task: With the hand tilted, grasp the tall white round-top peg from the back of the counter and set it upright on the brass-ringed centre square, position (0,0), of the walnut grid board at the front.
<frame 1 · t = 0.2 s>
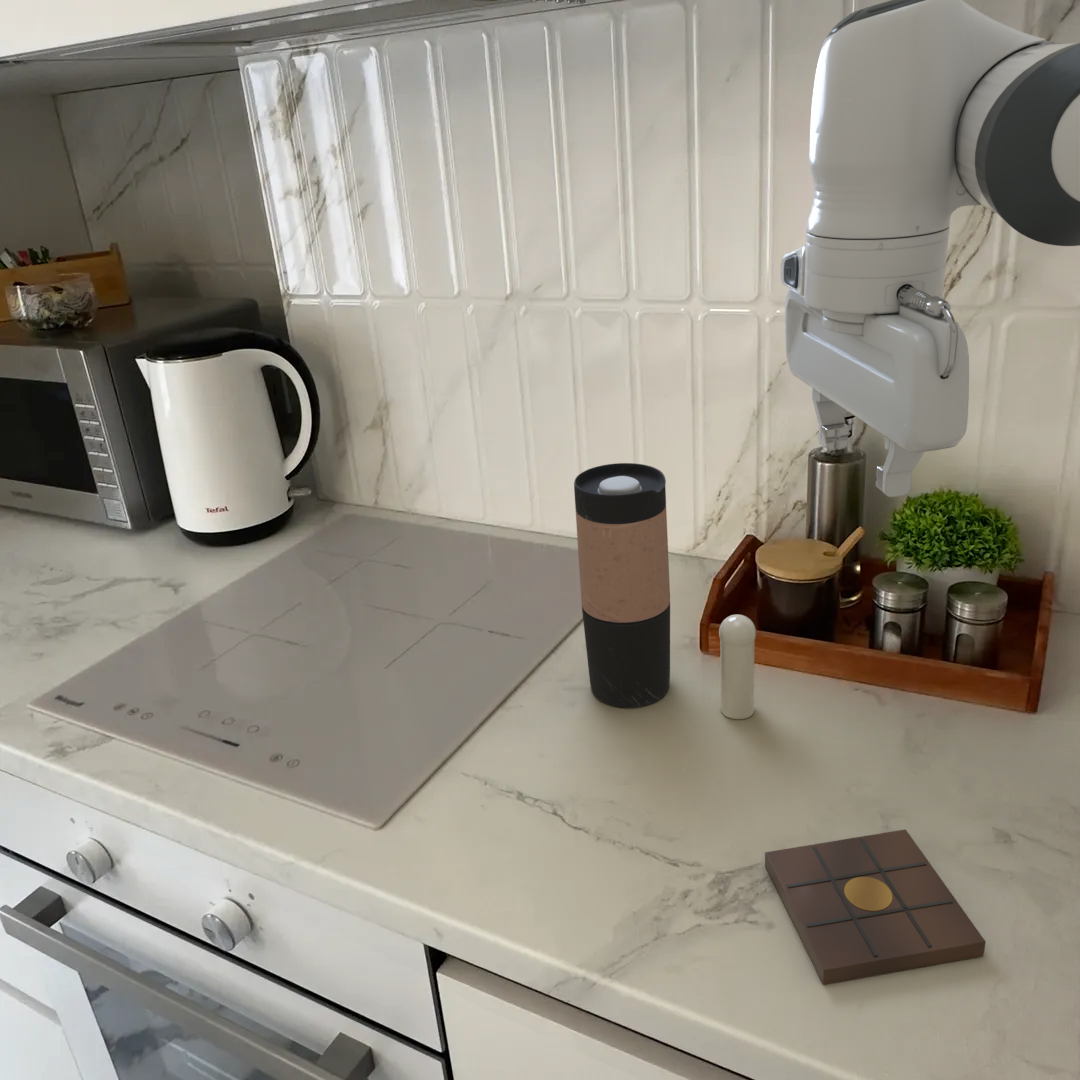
hand: (860, 468, 70), 23 cm above the worktop, tool pointing down, fingers open, 8 cm apart
board: (867, 908, 62), on the worktop
travel mug: (630, 687, 88), on the worktop
white round-top peg: (737, 710, 83), on the worktop
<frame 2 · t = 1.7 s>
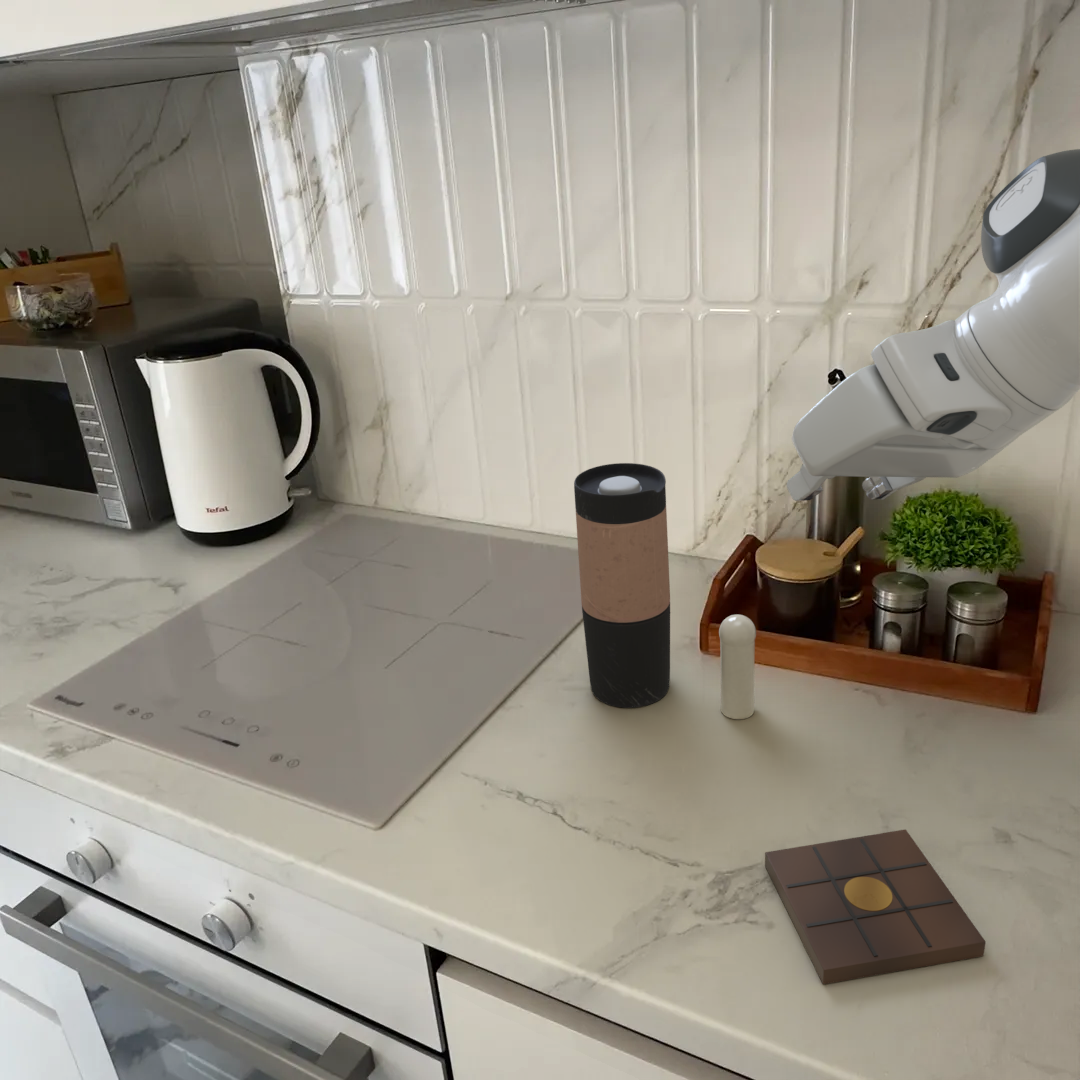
hand: (834, 492, 76), 19 cm above the worktop, tool tilted 45°, fingers open, 8 cm apart
nothing on the worktop moved.
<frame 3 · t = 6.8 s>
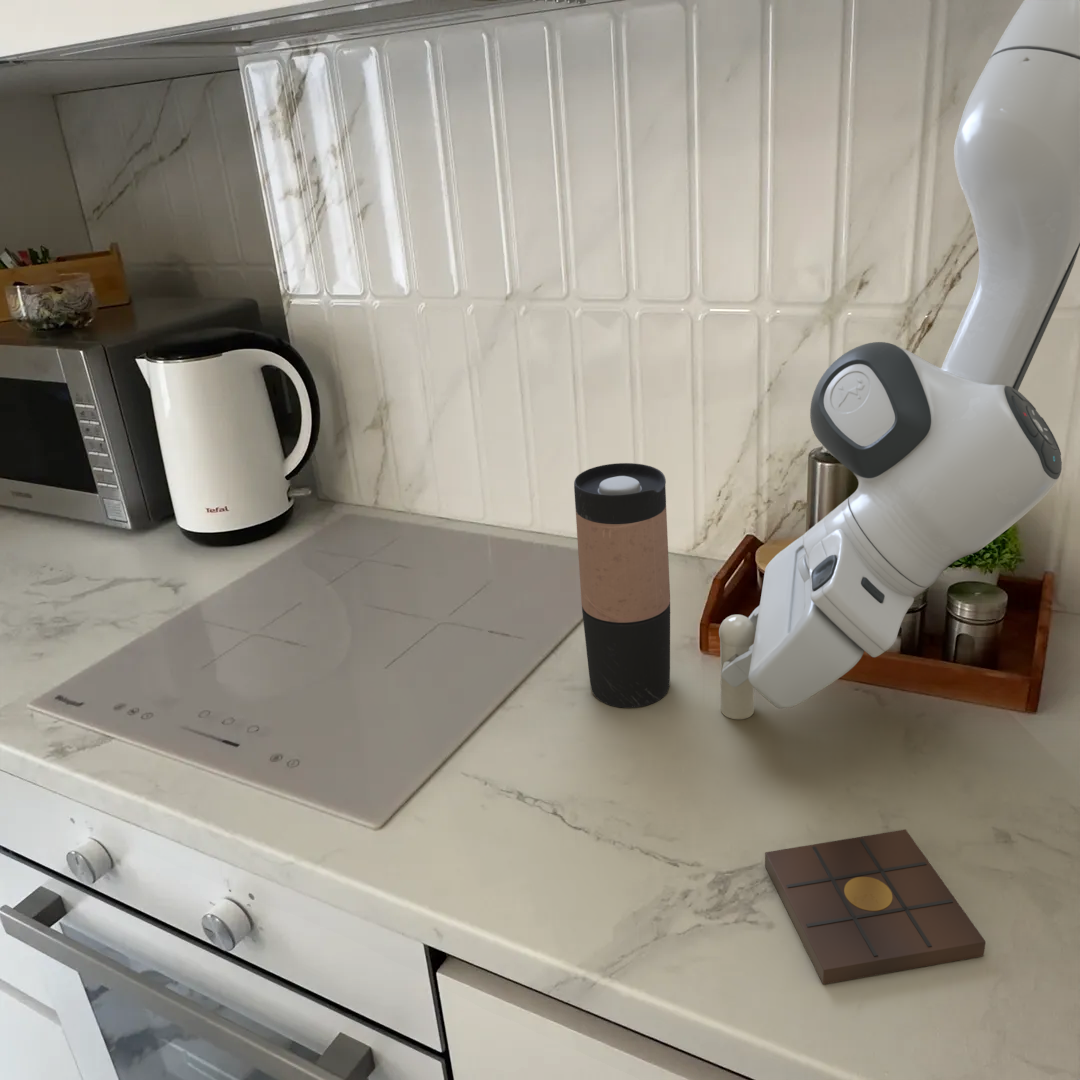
hand: (729, 663, 81), 5 cm above the worktop, tool tilted 45°, fingers closed on white round-top peg, 3 cm apart
white round-top peg: (737, 710, 83), on the worktop, touching gripper
everything else where it was.
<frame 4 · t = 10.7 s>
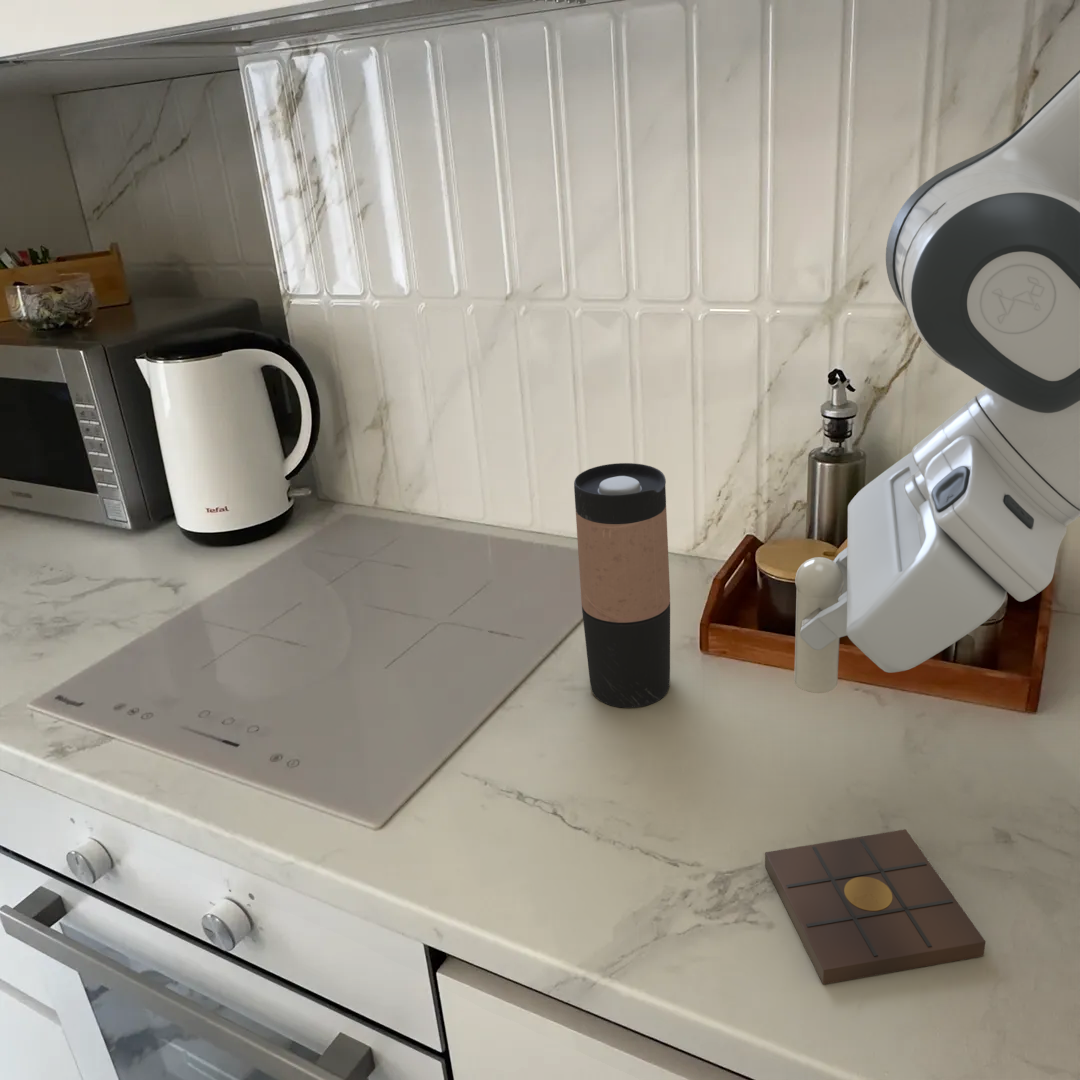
hand: (808, 622, 64), 16 cm above the worktop, tool tilted 45°, fingers closed on white round-top peg, 3 cm apart
white round-top peg: (815, 682, 65), point 12 cm above the worktop, touching gripper
everything else where it was.
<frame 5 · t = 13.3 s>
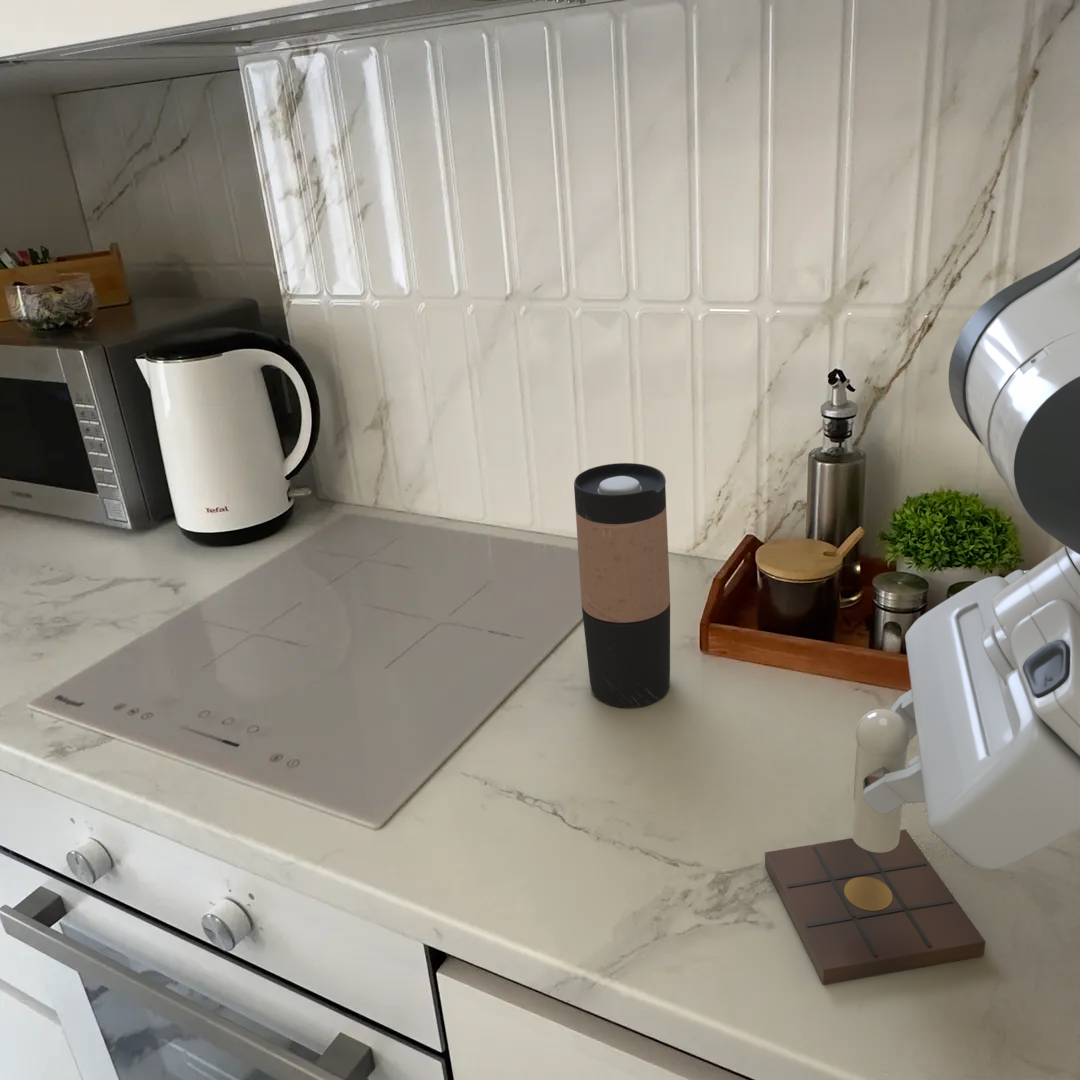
hand: (869, 776, 58), 11 cm above the worktop, tool tilted 45°, fingers closed on white round-top peg, 3 cm apart
white round-top peg: (874, 837, 60), point 6 cm above the worktop, touching gripper
everything else where it was.
when the fingers open (6 cm above the worktop, at t = 14.9 s): white round-top peg stays where it is, resting on board.
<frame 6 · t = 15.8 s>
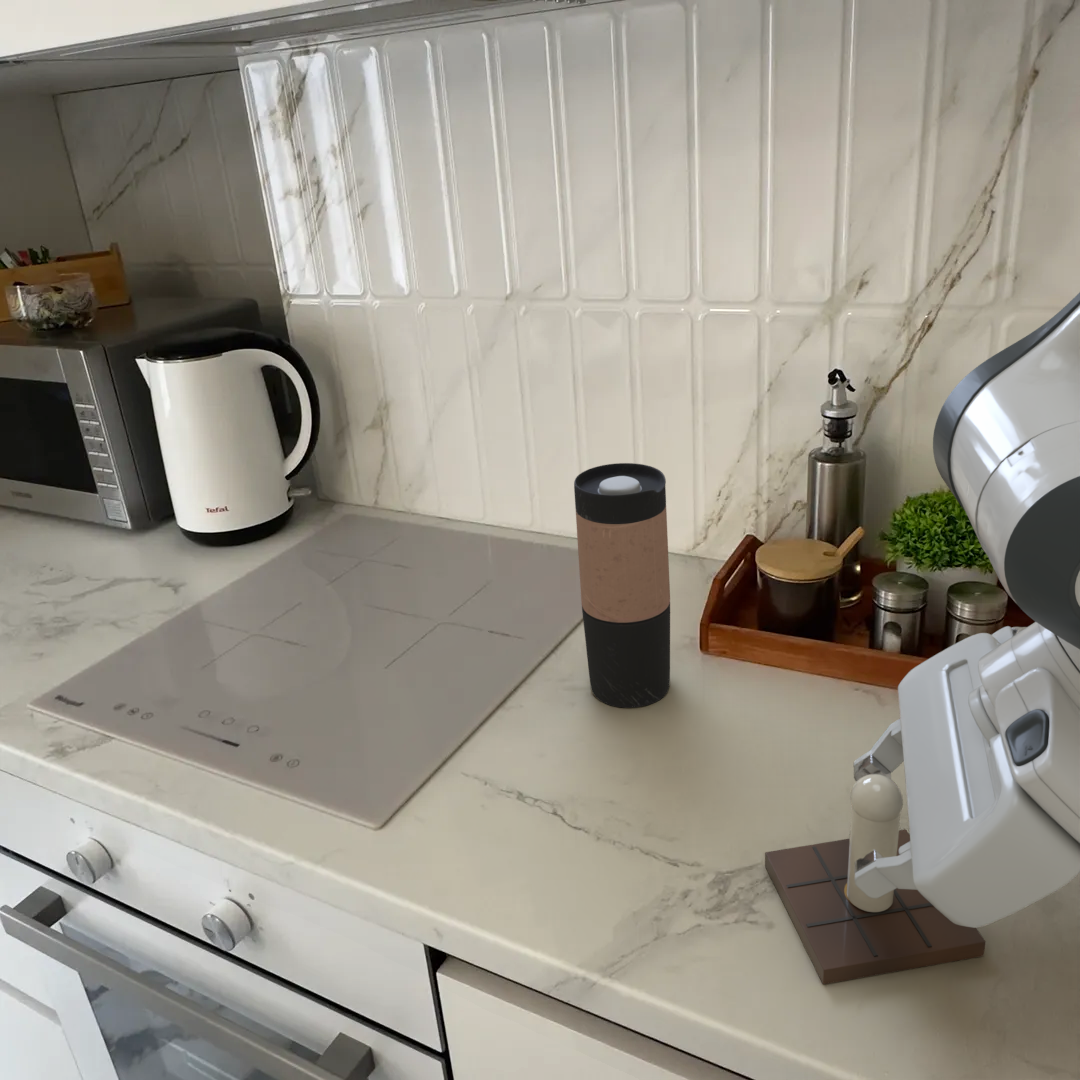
hand: (860, 826, 60), 6 cm above the worktop, tool tilted 45°, fingers open, 8 cm apart
white round-top peg: (869, 896, 62), point 1 cm above the worktop, touching board
everything else where it was.
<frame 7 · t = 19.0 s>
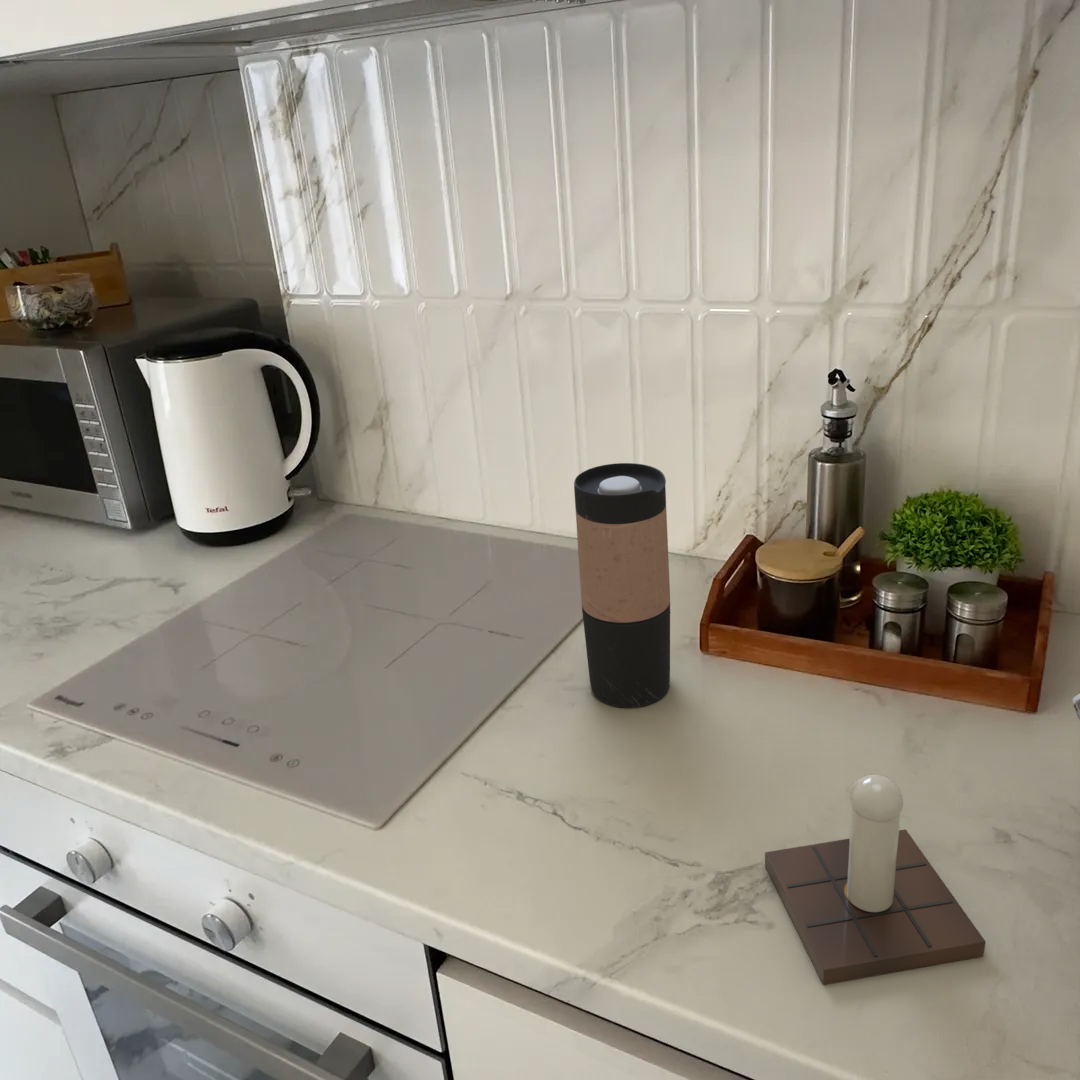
nothing on the worktop moved.
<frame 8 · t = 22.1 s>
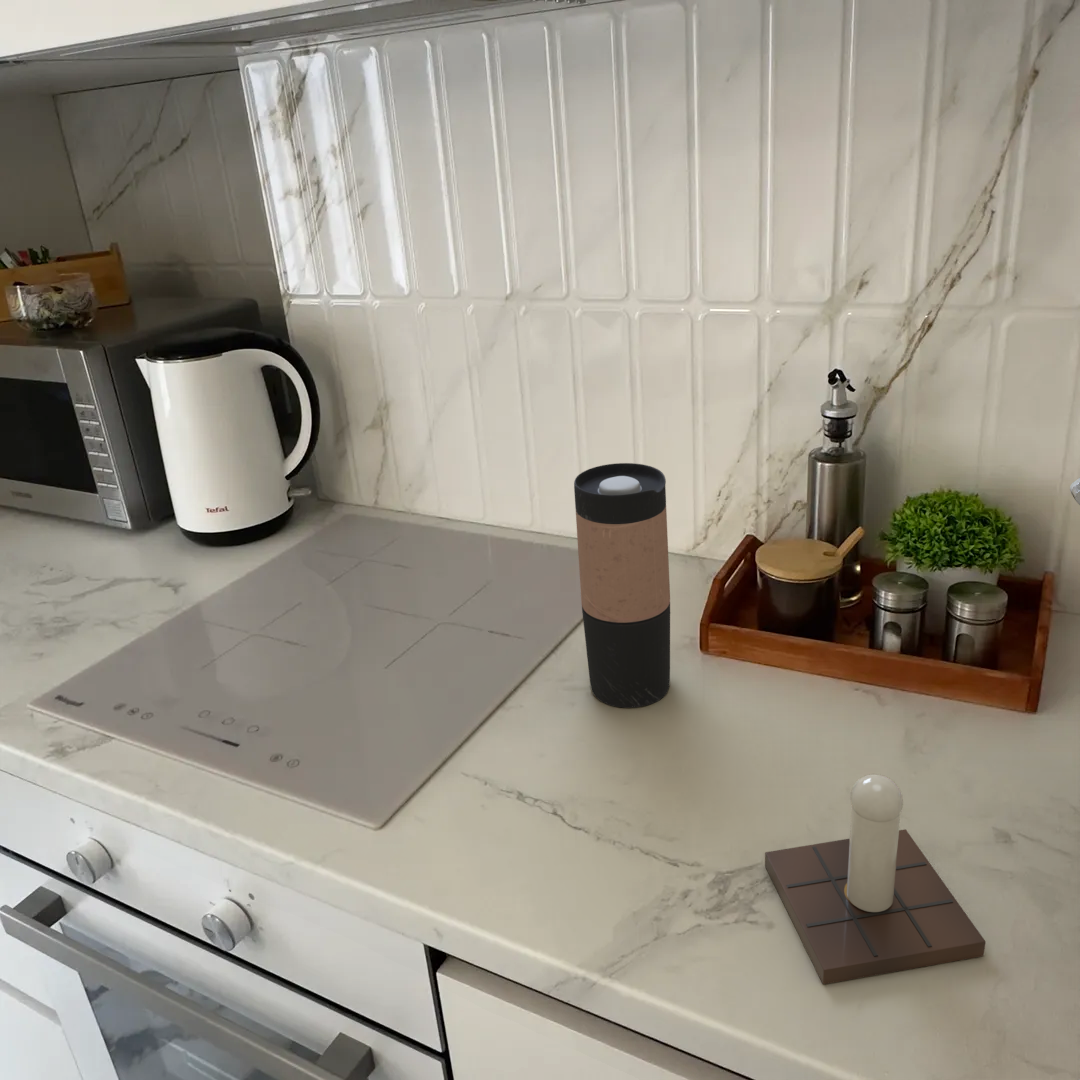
nothing on the worktop moved.
at the end: white round-top peg 0.3 cm off-centre on the board, point 1.3 cm above the board's base; white round-top peg tilted 0°; the gripper is holding nothing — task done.
